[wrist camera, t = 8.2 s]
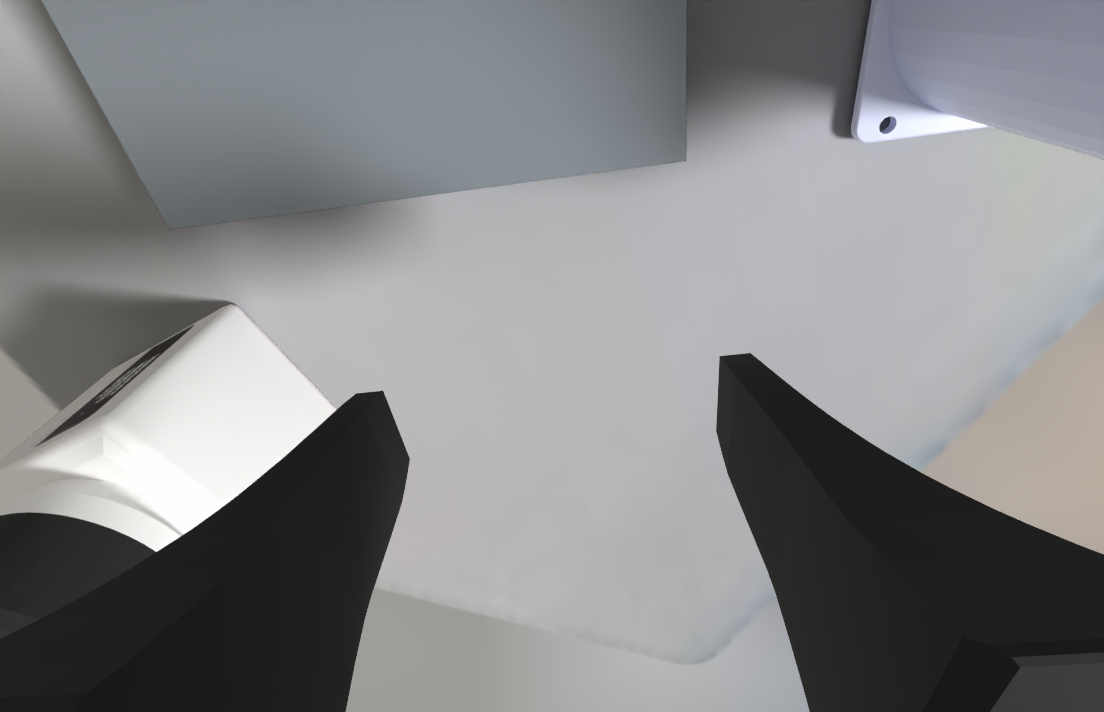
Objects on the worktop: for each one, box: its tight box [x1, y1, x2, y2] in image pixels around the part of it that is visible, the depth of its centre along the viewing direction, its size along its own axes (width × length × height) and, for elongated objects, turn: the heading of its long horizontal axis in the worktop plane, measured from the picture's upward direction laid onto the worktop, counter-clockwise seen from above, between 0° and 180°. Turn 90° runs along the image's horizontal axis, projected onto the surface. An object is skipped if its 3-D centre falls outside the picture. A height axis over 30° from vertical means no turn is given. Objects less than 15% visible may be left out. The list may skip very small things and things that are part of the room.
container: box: [0, 304, 337, 639], centre depth 19 cm, size 8×8×13 cm
